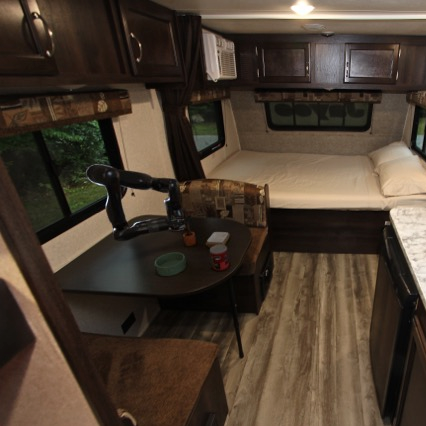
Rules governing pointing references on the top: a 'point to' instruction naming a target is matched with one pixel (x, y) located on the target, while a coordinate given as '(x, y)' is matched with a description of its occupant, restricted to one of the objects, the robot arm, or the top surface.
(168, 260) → the bowl
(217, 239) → the soap dish
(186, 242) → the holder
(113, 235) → the robot arm
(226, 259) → the canned food
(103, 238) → the top surface
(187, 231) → the stick
